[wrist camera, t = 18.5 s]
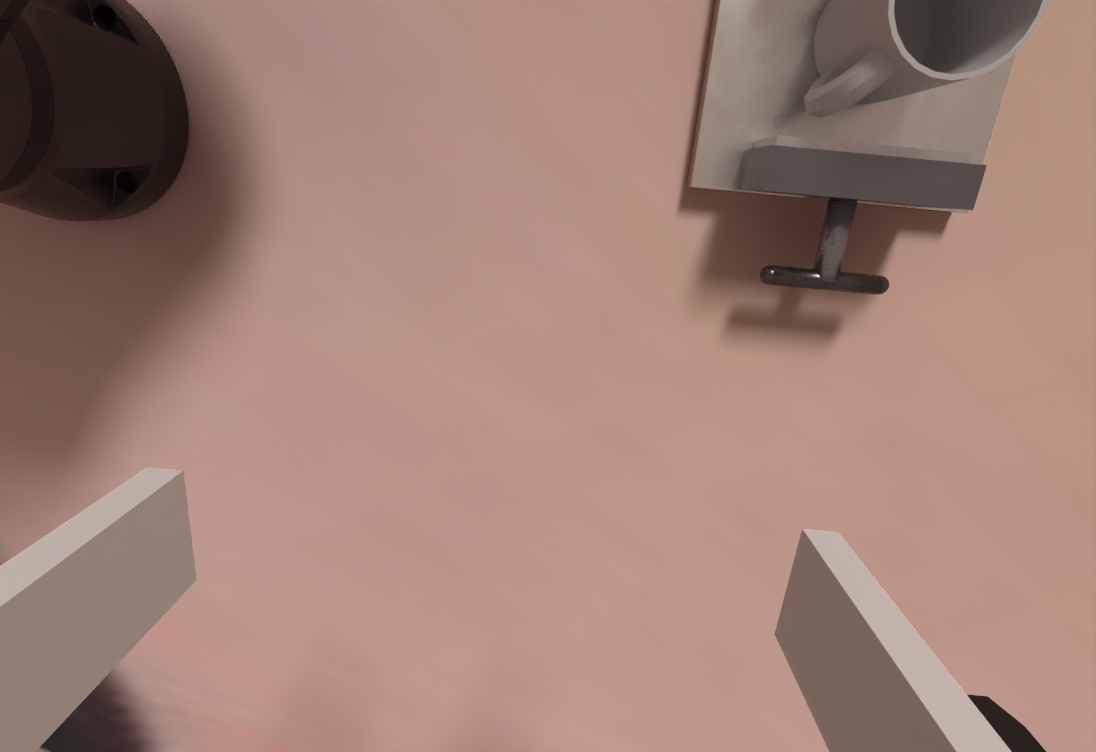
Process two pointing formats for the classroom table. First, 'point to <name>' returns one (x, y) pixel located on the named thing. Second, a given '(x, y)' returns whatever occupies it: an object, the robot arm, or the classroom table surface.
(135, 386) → the classroom table surface
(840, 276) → the vise
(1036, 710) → the classroom table surface
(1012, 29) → the cup
